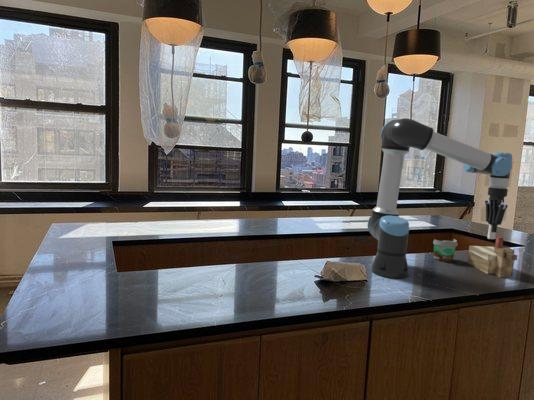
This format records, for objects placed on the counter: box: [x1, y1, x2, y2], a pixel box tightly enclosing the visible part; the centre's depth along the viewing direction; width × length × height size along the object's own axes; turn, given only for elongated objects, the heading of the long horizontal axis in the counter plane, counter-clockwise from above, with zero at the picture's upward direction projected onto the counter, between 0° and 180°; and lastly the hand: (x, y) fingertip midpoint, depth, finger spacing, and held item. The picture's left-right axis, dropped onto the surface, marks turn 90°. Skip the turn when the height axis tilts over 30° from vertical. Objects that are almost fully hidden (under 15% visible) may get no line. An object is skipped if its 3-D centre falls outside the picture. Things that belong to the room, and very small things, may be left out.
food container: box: [432, 238, 458, 263], centre depth 186 cm, size 12×6×10 cm, turn 105°
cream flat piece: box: [468, 245, 516, 263], centre depth 177 cm, size 12×15×4 cm
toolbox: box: [467, 247, 515, 279], centre depth 175 cm, size 11×20×12 cm, turn 2°
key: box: [494, 236, 518, 261], centre depth 167 cm, size 2×12×7 cm, turn 2°
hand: (491, 238), depth 177 cm, fingers closed
